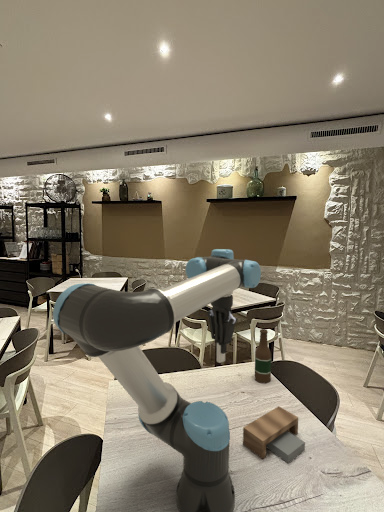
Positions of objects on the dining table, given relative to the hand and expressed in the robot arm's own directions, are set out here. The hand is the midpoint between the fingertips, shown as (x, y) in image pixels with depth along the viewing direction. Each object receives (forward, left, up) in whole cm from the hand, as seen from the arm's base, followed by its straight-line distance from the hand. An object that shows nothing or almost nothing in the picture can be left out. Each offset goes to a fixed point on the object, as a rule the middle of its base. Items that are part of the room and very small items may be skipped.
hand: (220, 361), depth 101 cm
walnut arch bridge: (+10, -15, -24) cm, 30 cm away
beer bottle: (+40, +13, -25) cm, 48 cm away
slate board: (+10, -19, -25) cm, 33 cm away
